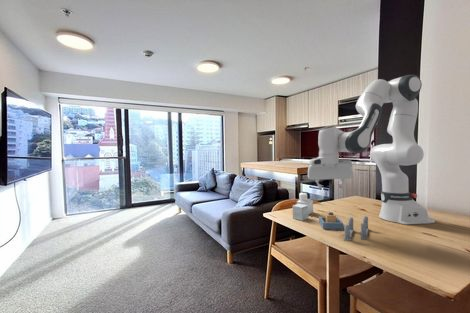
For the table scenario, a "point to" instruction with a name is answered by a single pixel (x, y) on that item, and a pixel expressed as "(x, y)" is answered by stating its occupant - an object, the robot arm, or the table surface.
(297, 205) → the product box
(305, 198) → the medicine bottle
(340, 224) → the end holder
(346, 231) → the clip
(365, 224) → the clip
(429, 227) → the table surface
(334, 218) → the block with round knob
